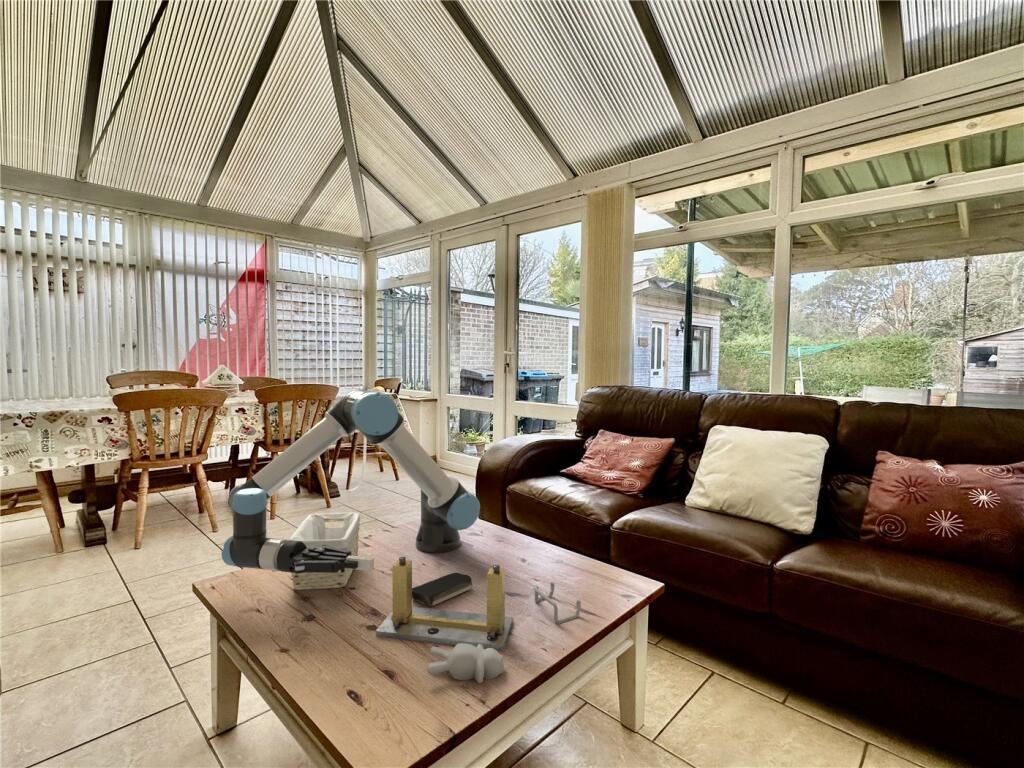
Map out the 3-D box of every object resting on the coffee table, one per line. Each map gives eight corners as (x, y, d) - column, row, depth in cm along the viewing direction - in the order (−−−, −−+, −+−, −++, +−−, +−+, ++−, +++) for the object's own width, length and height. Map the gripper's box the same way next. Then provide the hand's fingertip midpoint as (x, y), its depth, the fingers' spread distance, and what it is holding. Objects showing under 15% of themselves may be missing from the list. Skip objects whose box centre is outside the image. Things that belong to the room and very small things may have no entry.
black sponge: (427, 612, 124) (427, 597, 124) (408, 600, 130) (408, 586, 130) (475, 590, 136) (475, 577, 136) (455, 581, 142) (456, 568, 142)
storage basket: (347, 590, 135) (347, 538, 134) (285, 594, 133) (284, 540, 132) (361, 556, 159) (361, 511, 158) (309, 558, 156) (308, 512, 156)
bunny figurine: (505, 667, 96) (428, 662, 94) (502, 692, 96) (425, 687, 95) (502, 639, 105) (432, 634, 104) (499, 662, 105) (429, 657, 104)
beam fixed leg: (395, 613, 120) (395, 554, 120) (504, 625, 116) (505, 563, 115) (385, 627, 114) (385, 564, 114) (499, 640, 110) (500, 574, 109)
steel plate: (396, 609, 125) (396, 604, 125) (512, 622, 119) (512, 617, 119) (375, 635, 113) (375, 630, 113) (503, 651, 108) (503, 645, 108)
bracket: (580, 619, 122) (581, 599, 122) (554, 625, 118) (556, 605, 118) (551, 597, 133) (552, 578, 133) (526, 602, 129) (527, 583, 129)
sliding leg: (398, 613, 120) (398, 554, 120) (412, 614, 120) (412, 555, 119) (388, 626, 114) (388, 564, 114) (402, 627, 114) (402, 565, 113)
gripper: (300, 560, 129) (383, 568, 125) (267, 581, 116) (359, 591, 112) (300, 532, 129) (384, 539, 125) (267, 550, 116) (359, 559, 112)
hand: (372, 564), depth 119 cm, fingers closed
